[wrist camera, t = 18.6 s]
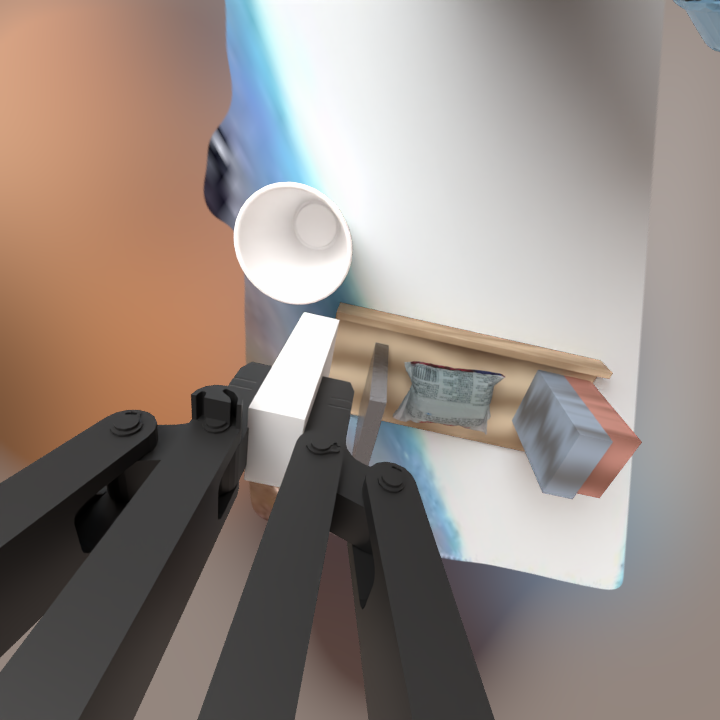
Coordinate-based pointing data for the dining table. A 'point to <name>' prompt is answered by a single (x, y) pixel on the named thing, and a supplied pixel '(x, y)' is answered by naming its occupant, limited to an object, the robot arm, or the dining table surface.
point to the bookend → (372, 404)
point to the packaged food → (448, 396)
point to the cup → (293, 243)
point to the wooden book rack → (500, 395)
